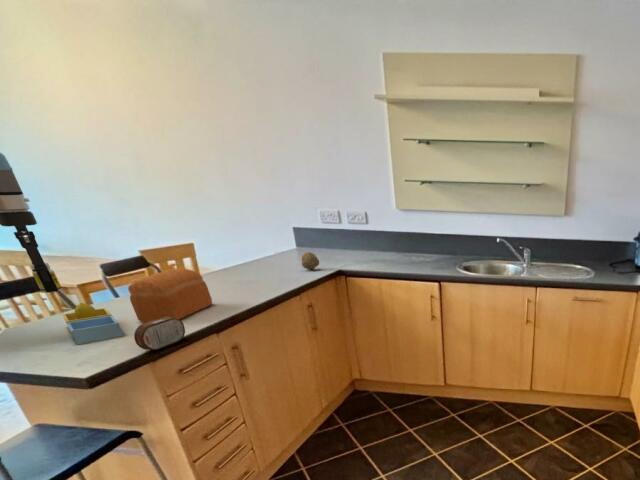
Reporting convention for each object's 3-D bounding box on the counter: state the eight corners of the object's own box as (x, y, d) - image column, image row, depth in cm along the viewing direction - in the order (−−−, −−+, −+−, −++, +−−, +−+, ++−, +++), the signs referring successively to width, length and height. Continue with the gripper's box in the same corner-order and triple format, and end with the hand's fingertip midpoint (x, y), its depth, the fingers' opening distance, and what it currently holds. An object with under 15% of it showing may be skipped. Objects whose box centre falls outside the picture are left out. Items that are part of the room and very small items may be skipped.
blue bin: (73, 336, 138) (66, 322, 136) (117, 328, 145) (112, 315, 143) (77, 344, 131) (70, 330, 129) (124, 335, 139) (118, 322, 137)
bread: (216, 303, 174) (205, 265, 167) (174, 323, 151) (158, 280, 144) (183, 303, 174) (169, 265, 166) (134, 323, 150) (117, 279, 143)
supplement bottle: (45, 293, 129) (31, 266, 125) (38, 291, 130) (24, 264, 127) (65, 290, 133) (52, 263, 129) (58, 288, 134) (45, 262, 131)
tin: (182, 337, 139) (173, 312, 135) (190, 337, 138) (182, 313, 134) (139, 354, 125) (128, 327, 122) (148, 354, 125) (137, 328, 121)
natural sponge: (323, 269, 242) (320, 251, 238) (315, 272, 234) (312, 253, 230) (308, 268, 243) (305, 250, 238) (300, 271, 235) (296, 253, 230)
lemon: (100, 326, 145) (90, 304, 141) (78, 328, 143) (68, 306, 139) (104, 321, 149) (94, 300, 146) (83, 324, 147) (73, 302, 143)
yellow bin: (68, 326, 146) (62, 314, 144) (110, 319, 153) (105, 307, 151) (72, 334, 139) (65, 321, 137) (116, 326, 147) (111, 314, 145)
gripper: (33, 212, 118) (71, 292, 129) (29, 208, 129) (65, 283, 139) (-7, 213, 113) (36, 297, 124) (-7, 210, 124) (33, 287, 134)
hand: (51, 290), depth 131 cm, fingers closed on supplement bottle, 5 cm apart
